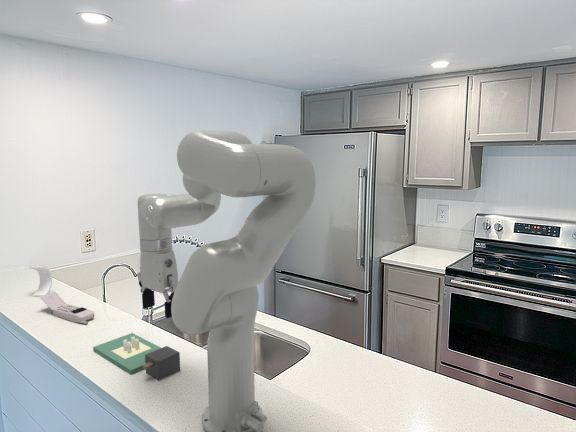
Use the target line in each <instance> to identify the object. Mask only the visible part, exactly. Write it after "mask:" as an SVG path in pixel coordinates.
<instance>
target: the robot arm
mask: <svg viewBox="0 0 576 432" xmlns="http://www.w3.org/2000/svg"><path fill="white" fill-rule="evenodd" d="M176 161H177V164H178V168H179V170H180V171H181V172H182V183H183V187H184V189H185V191H186V192H187V193H185V194H184V193H183V194H182V193H181V194H173V195H167V194H164V193H145V194H142V195H140V196H139V197H138V198H137V215H138V216H137V219H138V233H139V249H140V251H139V252H140V257H139V258H140V259H139V264H140V265H139V272H138V273H136V276H137V279H138V285H139V287H140V293H141V301H142V302H141V303H142V309H149V308H152V307H154V306H155V304H156V301H155V299H156V298H155V292H156V293H159V294H162V295H163V297H164V299H165V301H164V316H165V318H166V319H169V318H172V322H173V325H174V326H175V327H176V328H177V330H179V331H180V332H181V333H183V334H185V335H189V336H196V335H197V336H198V335H200V334H204V333H206V332H209V333H208V338H207V345H206V346H207V347H206V349H207V351H206V352H207V353H206V354H207V379H208V380H207V381H208V382H207V383H208V406H207V407H206V408H205V410H204V411H203V413H202V415H201V424H202V427H203V429H204V430H205V432H262V431H263V429H264V423H265V422H266V421H267V416H266V415H265V414H263V410H262V408H261V406H260V405H259V402H258V401H256V400H255V399H256V398H255V390H256V387H255V327H256V326H255V324H256V316H257V312H258V308H259V300H260V299H259V296H260V295H259V289H258V285H260V284H262V283H263V282H264V281H265V280H266V279H267V278H268V276H270V273H271V272H272V270H273V268H274V267H275V266H276V264H277V262H278V260H279V259H280V257H281V255H282V254H283V252H284V250H285V249H286V247H287V245H288V243H289V242H290V241H291V238H292V236H293V235H294V234H295V232H296V231H297V229H298V228H299V226H300V225H301V224H302V222H303V220H304V219H305V217H306V216H307V214H308V213H309V210H310V209H311V206H312V204H313V201H314V199H315V195H316V193H315V192H316V174H315V169H314V165H313V163H312V161H311V159H310V158H309V156H308V155H307V154H306V152H304V151H303V150H301V149H300V148H297V147H295V146H291V145H289V144H287V145H286V144H278V143H276V144H275V143H272V144H271V143H263V144H261V143H258V144H257V143H253V142H252V141H251V139H250V138H248V136H245V134H242V133H241V132H236V131H231V130H229V131H228V130H208V129H207V130H206V129H204V130H203V129H198V130H193V131H190V132H189V133H186V135H184V136H183V138H182V139H181V140H180V142H179V144H178V147H177V151H176ZM222 195H223V196H227V197H231V198H249V197H257V196H258V197H259V196H260V197H261V196H266V197H265V198H264V199H263V200H262V201H261V202H260V203H258V204H257V205H256V206H255V207H254V208H253V209H252V210H251V212H250V213H249V214H248V216H247V218H245V219H246V220H245V221H244V223H243V226H241V229H240V231H239V232H238V233H237V234H236V235H235V236H233V237H231V238H228V239H223V240H219V241H214V242H210V243H207V244H203V245H202V246H200V247H199V248H197V249H196V250H195V251H194V252H193V253H192V254H191V255H190V257H189V259H188V260H187V261H188V262H187V263H186V265H185V268H184V270H183V271H182V275H181V276H180V279H179V273H178V266H177V265H178V264H177V260H176V255H175V250H173V236H172V235H173V234H172V232H173V231H172V229H176V228H184V227H189V226H196V225H200V224H202V223H203V222H205V221H207V220H209V218H211V217H212V216H213V215H214V214H216V212H217V211H218V210H219V208H220V205H221V200H222ZM169 293H170V294H169Z"/></svg>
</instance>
